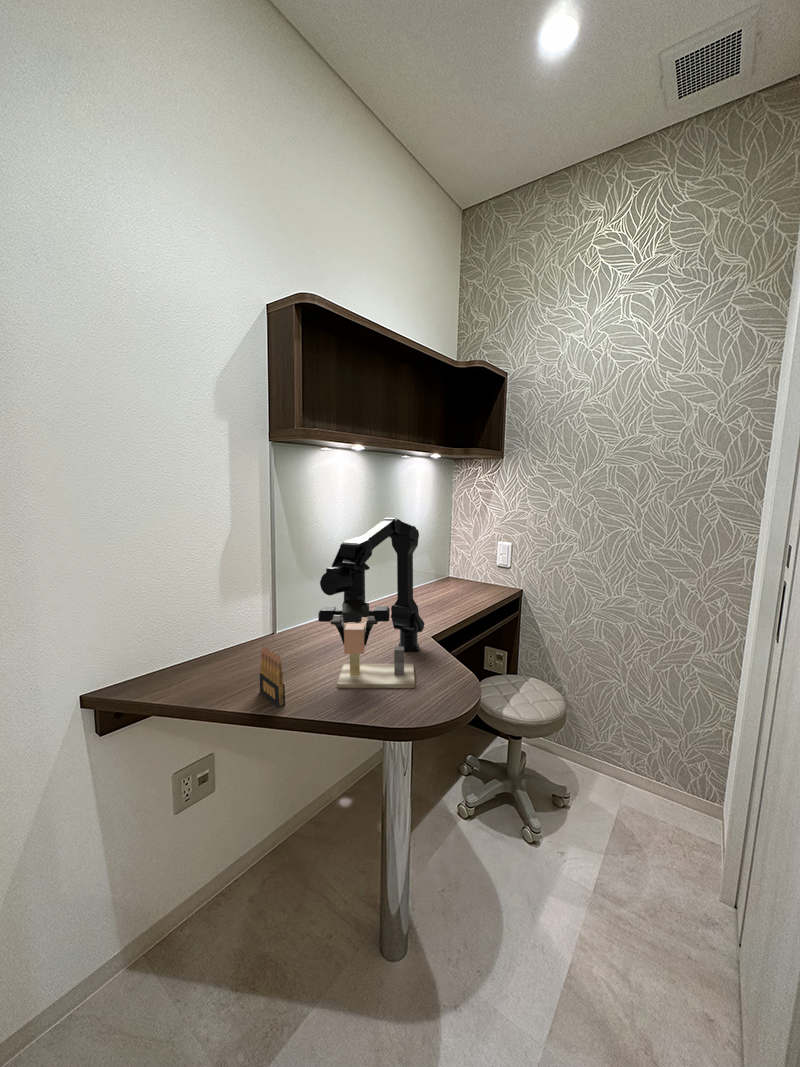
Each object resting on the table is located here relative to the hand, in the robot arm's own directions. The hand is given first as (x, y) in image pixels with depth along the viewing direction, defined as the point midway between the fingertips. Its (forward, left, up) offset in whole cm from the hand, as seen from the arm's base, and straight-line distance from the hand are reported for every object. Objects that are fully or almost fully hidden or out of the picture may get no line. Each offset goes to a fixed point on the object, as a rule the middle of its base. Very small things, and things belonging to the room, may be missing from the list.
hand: (355, 644), depth 123 cm
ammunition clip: (+13, -19, -9) cm, 25 cm away
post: (0, 0, -9) cm, 9 cm away
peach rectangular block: (0, 0, -2) cm, 2 cm away
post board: (0, +6, -9) cm, 11 cm away
